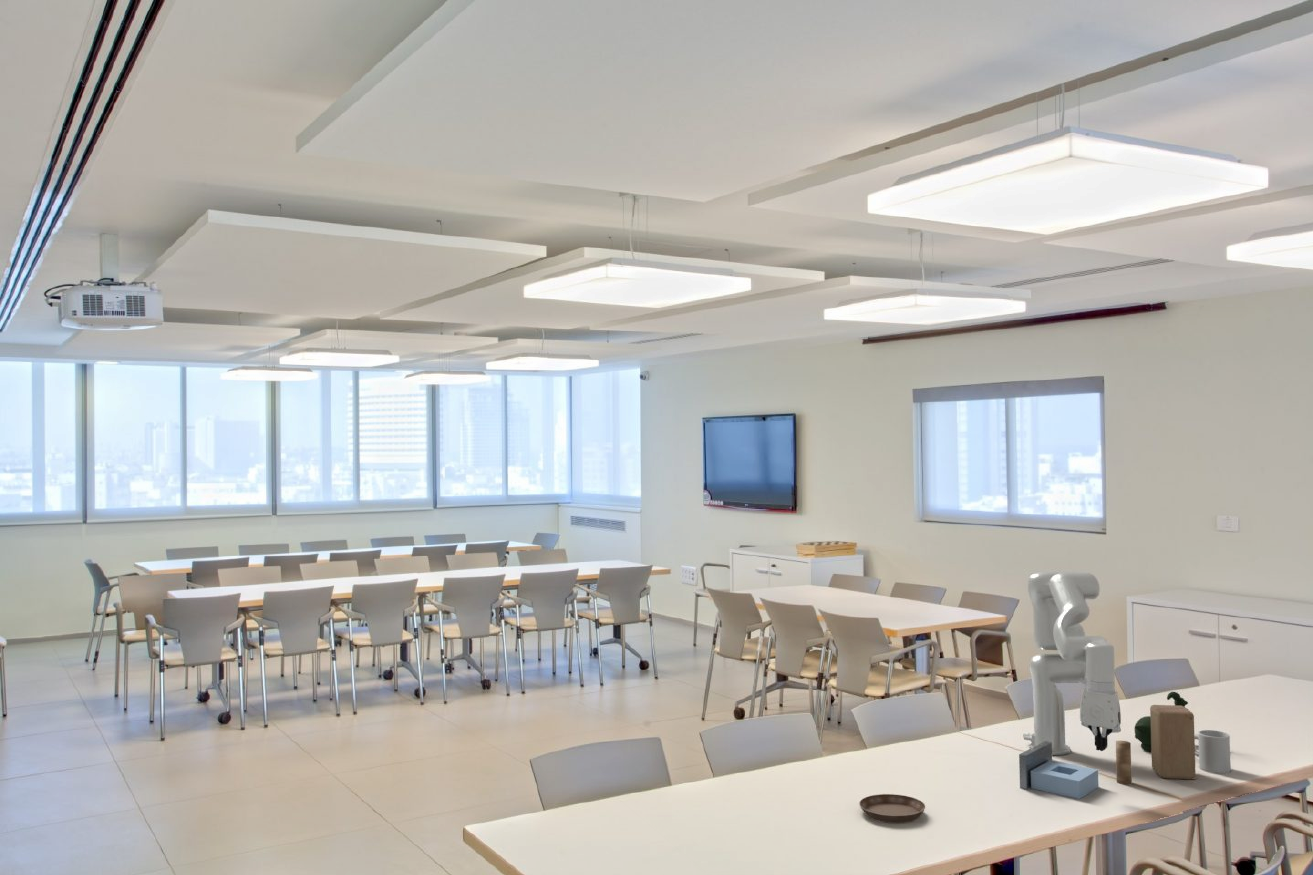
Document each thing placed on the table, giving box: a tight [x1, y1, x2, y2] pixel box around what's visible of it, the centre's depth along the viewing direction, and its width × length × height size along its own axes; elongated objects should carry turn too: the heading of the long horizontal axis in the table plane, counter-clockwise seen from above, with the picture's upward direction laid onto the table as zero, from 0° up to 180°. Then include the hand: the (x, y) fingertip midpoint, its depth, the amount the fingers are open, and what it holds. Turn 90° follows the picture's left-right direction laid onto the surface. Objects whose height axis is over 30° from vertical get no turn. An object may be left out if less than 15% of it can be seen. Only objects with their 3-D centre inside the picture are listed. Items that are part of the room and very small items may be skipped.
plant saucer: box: [858, 793, 926, 824], centre depth 272 cm, size 18×18×3 cm
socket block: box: [1030, 759, 1100, 800], centre depth 291 cm, size 14×14×5 cm
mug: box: [1194, 729, 1232, 775], centre depth 307 cm, size 12×8×11 cm
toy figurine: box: [1134, 691, 1189, 753], centre depth 329 cm, size 9×19×25 cm
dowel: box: [1115, 740, 1133, 786], centre depth 295 cm, size 4×4×12 cm
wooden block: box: [1149, 704, 1197, 780], centre depth 302 cm, size 10×10×20 cm
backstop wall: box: [1018, 741, 1053, 790], centre depth 297 cm, size 2×18×10 cm, turn 135°
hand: (1101, 749), depth 284 cm, fingers closed
